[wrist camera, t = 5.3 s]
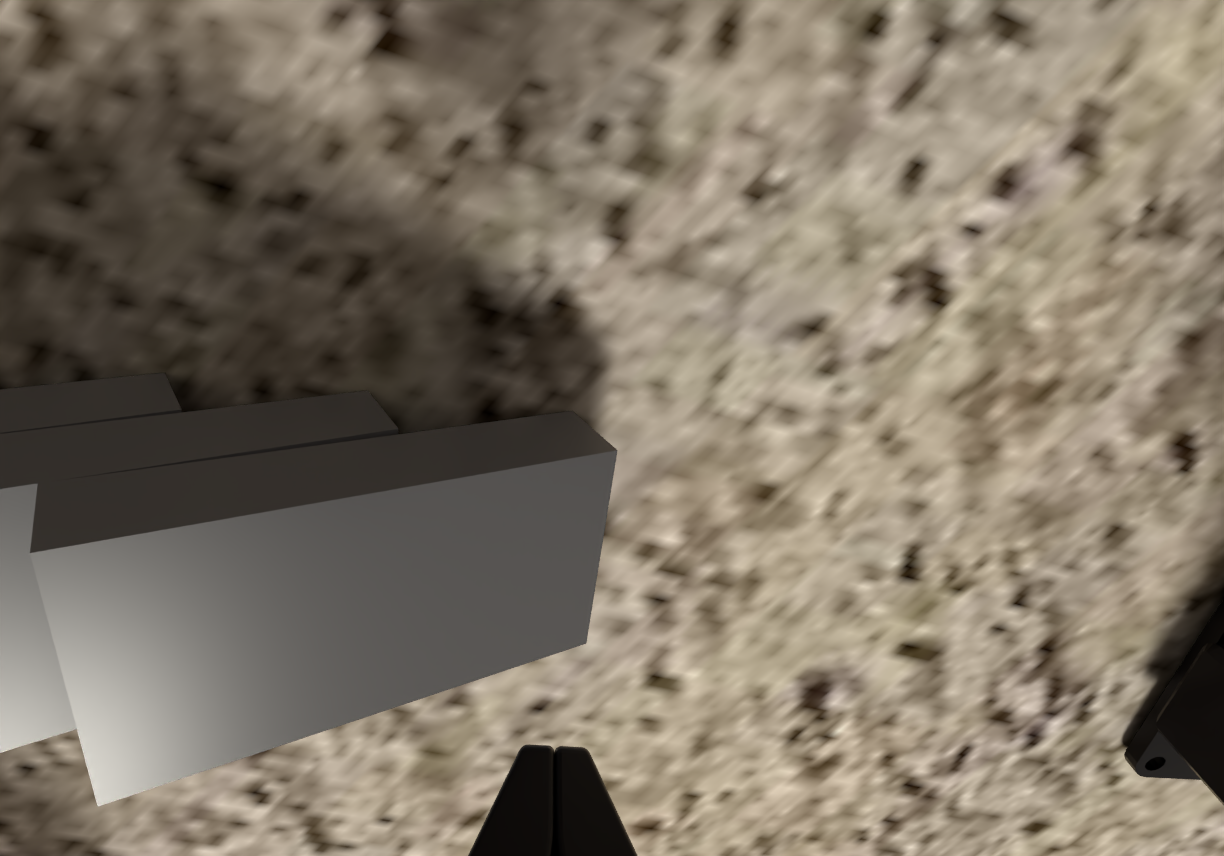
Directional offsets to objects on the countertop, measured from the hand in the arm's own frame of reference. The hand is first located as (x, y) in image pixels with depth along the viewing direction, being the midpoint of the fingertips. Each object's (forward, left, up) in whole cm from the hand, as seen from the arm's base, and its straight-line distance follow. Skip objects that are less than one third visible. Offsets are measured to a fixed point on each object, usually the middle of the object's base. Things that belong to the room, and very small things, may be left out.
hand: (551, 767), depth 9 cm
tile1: (0, 0, -5) cm, 5 cm away
